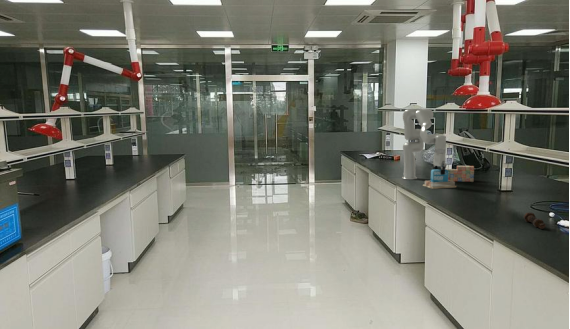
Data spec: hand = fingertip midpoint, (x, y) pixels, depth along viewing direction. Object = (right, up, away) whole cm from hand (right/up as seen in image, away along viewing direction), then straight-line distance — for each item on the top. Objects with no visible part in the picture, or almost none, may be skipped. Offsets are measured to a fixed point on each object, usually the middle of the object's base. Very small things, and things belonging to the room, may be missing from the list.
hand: (439, 173), depth 316 cm
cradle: (0, -10, +1) cm, 10 cm away
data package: (0, -9, +1) cm, 9 cm away
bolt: (+9, -25, -106) cm, 110 cm away
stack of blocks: (+25, -7, +23) cm, 34 cm away
